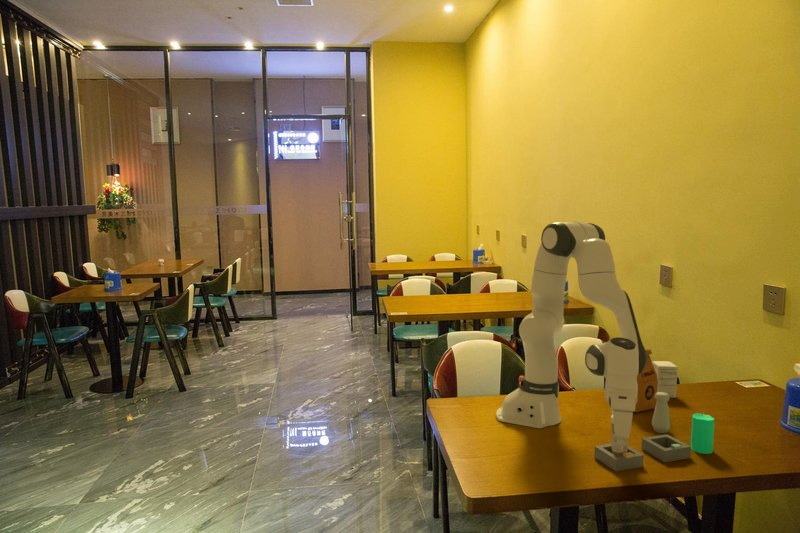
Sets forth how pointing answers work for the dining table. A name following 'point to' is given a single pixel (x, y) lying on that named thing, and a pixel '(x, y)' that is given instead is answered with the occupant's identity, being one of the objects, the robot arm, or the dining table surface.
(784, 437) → the dining table surface
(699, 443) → the candle
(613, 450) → the sprinkles bottle
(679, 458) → the grey square tray
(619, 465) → the gray open box
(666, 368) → the supplement box
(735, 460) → the dining table surface
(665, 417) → the salt shaker
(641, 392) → the coffee package
